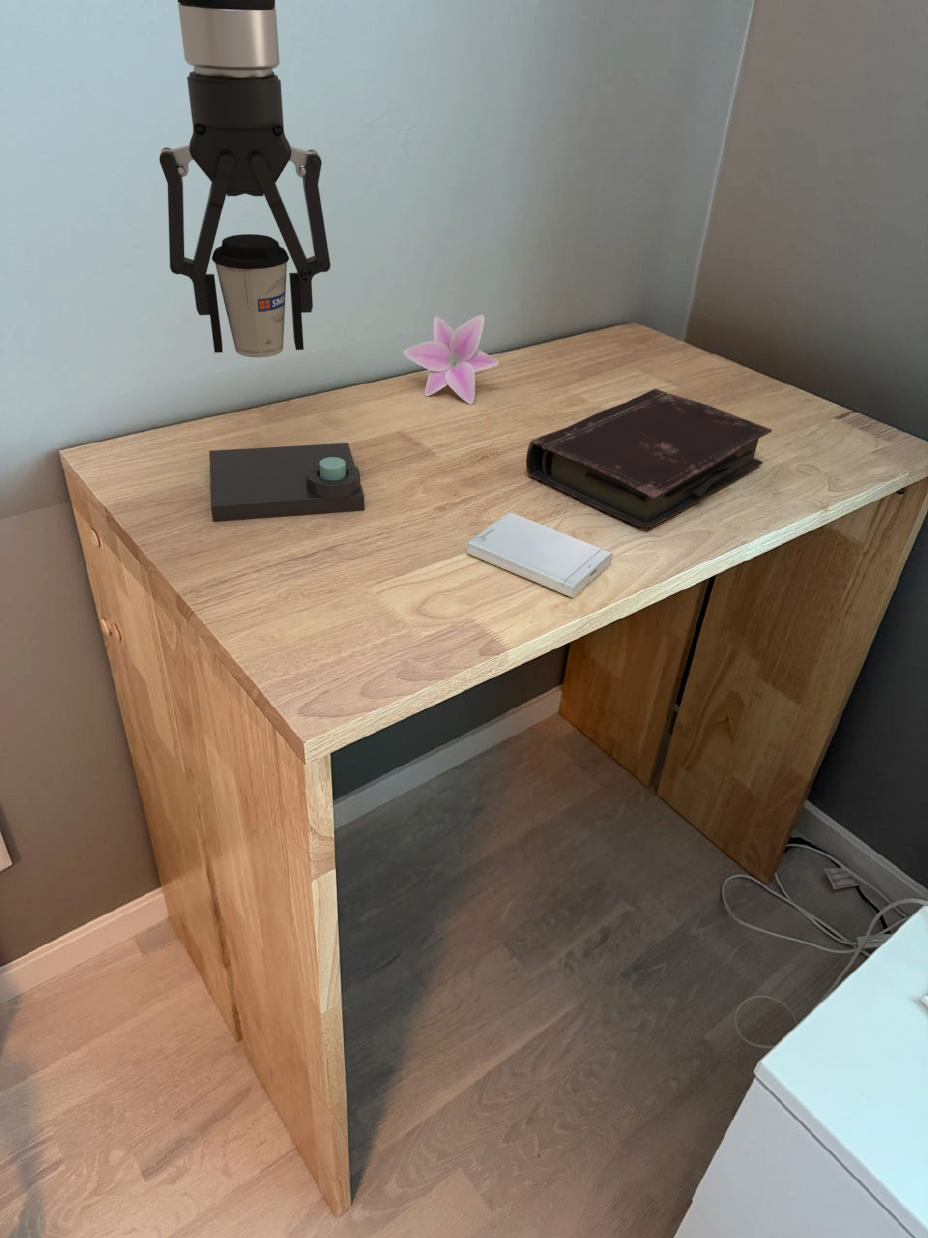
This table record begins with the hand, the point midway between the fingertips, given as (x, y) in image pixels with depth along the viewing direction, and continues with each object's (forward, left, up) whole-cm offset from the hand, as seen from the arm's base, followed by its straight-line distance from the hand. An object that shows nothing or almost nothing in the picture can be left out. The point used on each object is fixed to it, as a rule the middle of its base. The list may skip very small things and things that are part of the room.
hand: (258, 345), depth 86 cm
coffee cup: (0, 0, 0) cm, 0 cm away
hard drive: (+26, -16, -18) cm, 35 cm away
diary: (+45, +1, -18) cm, 48 cm away
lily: (+27, +28, -18) cm, 43 cm away
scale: (+2, +3, -17) cm, 18 cm away
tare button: (+7, -1, -14) cm, 16 cm away
